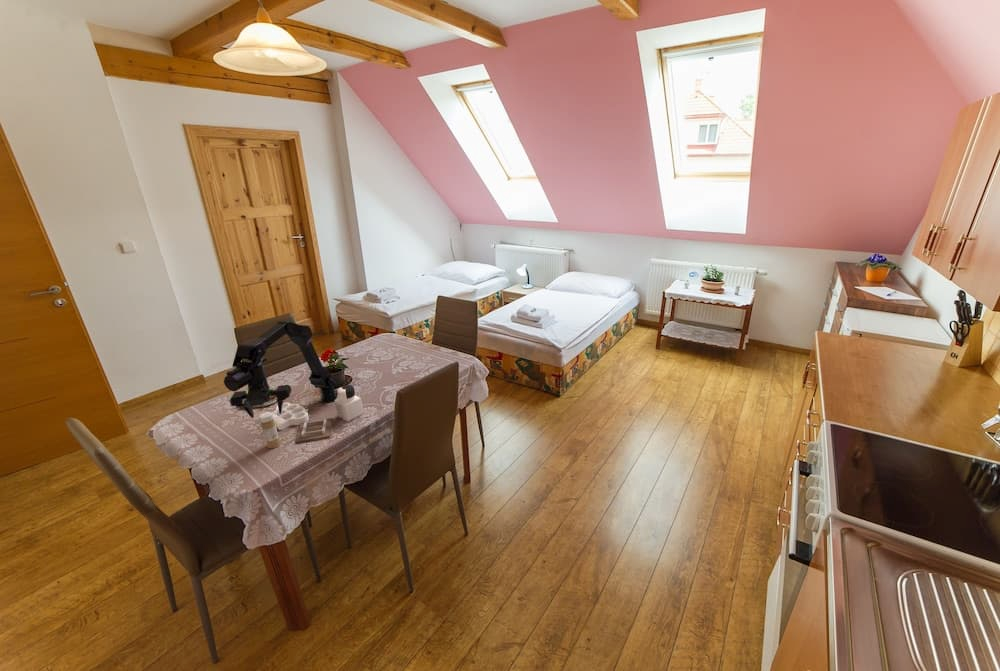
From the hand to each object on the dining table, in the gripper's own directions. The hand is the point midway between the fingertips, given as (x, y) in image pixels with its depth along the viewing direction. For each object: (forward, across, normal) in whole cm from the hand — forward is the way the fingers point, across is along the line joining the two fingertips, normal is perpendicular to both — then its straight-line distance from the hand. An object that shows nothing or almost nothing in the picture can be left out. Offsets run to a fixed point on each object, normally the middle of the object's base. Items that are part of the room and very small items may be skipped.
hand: (266, 415), depth 154 cm
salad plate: (+14, -13, +40) cm, 44 cm away
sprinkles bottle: (+14, 0, 0) cm, 14 cm away
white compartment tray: (+14, +2, +19) cm, 23 cm away
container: (+13, +27, +13) cm, 33 cm away
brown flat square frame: (+13, +14, +5) cm, 20 cm away
